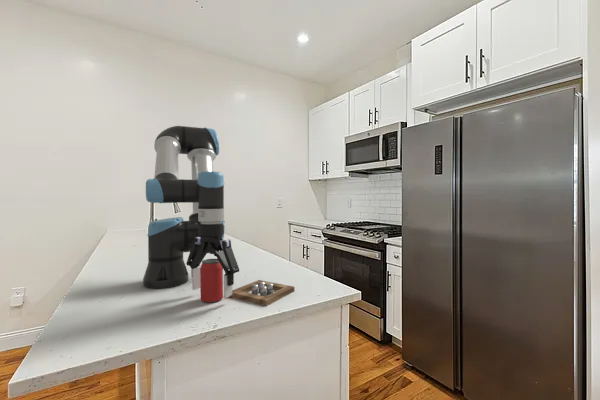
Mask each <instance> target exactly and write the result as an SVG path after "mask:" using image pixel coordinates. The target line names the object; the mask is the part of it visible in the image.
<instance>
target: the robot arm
mask: <svg viewBox="0 0 600 400" xmlns="http://www.w3.org/2000/svg"><path fill="white" fill-rule="evenodd" d="M219 144H220V140H219V136H218V133H217V131H216V130H215V129H213V128H207V127H196V126H186V125H185V126H184V125H173V126H170V127H167V128H166V129H164V130H162V131H161V132H160V133H159V134H158V135H157V136H156V138H155V141H154V145H153V146H154V150H155V153H156V158H155V165H154V178H148V179H147V180H146V181H145V199H146V201H147V202H148V203H152V204H153V203H154V204H155V203H157V204H172V203H174V204H177V203H178V204H179V203H187V204H189V203H192V213H191V214H190V215H189V216H188V220H184V218H183V217H181V216H179V217H169V218H163V219H158V220H154V221H151V222H150V223H149V224H148V225H147V226H148V228H147V230H148V231H147V239H148V240H147V241H148V242H147V243H148V248H147V251H148V254H147V255H148V260H147V261H148V262H147V266H146V269H145V272H144V275H143V277H142V278H143V279H142V285H143V287H145V288H148V289H166V288H167V289H168V288H172V287H176V286H177V287H178V286H181V285H184V284H186V283H188V281H189V279H190V278H189V272H188V269H187V266H189V267H190V269H191V278H192V279H191V280H192V281H191V282H192V287H191V288H192V290H193V291H195V290H198V289H200V268H201V265H200V264H202V261H203V260H205V259H204V258H205V257H206V255H207V254H210V255H214V257H216V259H218V260H219V262H220V264H221V266H222V268H223V271H224V273H225V274H223V298H230V297H229V296H231V295H232V290H233V286H234V283H235V281H234V277H235V274H236V273H239V272H240V267H239V265H238V261H237V258H236V256H235V253H234V250H233V248H232V241H231V239H225V238H224V237H225V228H226V224H225V222H226V221H225V207H224V205H225V204H224V202H225V201H224V200H225V197H224V196H225V193H224V192H225V189H224V187H225V181H224V173H222V172H220V171H214V163H213V162H214V161H215V160H216V157H217V156H218V155H219V153H220V145H219ZM179 155H186V156H187V159H188V160H189V161H190V162H191V179H180V177H179V175H180V174H179ZM184 253H189V254H188V257H187V260H186V263H185V261H184Z"/></svg>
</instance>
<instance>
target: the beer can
mask: <svg viewBox="0 0 600 400" xmlns="http://www.w3.org/2000/svg"><path fill="white" fill-rule="evenodd" d="M200 267H201V268H200V288H199V289H200V301H201V302H202V303H207V304H212V303H218V302H220V301H222V299H223V298H224V273H223V271H224V269H223V268H222V266H221V264H220V262H219V260H218V259H217V258H207V259H203V260H202V262H201V265H200Z"/></svg>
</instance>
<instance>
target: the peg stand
mask: <svg viewBox="0 0 600 400" xmlns="http://www.w3.org/2000/svg"><path fill="white" fill-rule="evenodd" d="M272 283H273V282H272ZM272 283H267V288H266V286H265V282H258V285H257V284H253V285H252V291H251V294H256V295H260V296H267V295H270V294H272V293H274V290H273V284H272Z"/></svg>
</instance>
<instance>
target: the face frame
mask: <svg viewBox="0 0 600 400" xmlns="http://www.w3.org/2000/svg"><path fill="white" fill-rule="evenodd" d="M258 282H265V286H266V289H267V283H272V284H273V293H272V294H267V296H260V294H258V295H256V294H252V285H253V284H257V285H258ZM294 292H295V286H293V285H287V284H282V283H277V282H272V281H266V280H261V279H258V280H255V281H252V282H250V283H248V284H246V285H242V286H240V287H237V288H235V289H232V295H231V296H229V297H228V298H233V299H236V300H239V301H241V300H242V301H244V302H249V303H254V304H258V305H262V306H265V307H267V306H269V305H271V304H273V303H275V302H277V301H278V300H279V301H280V299H283V298H284V297H286V296H288V295H290V294H292V293H294Z"/></svg>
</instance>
